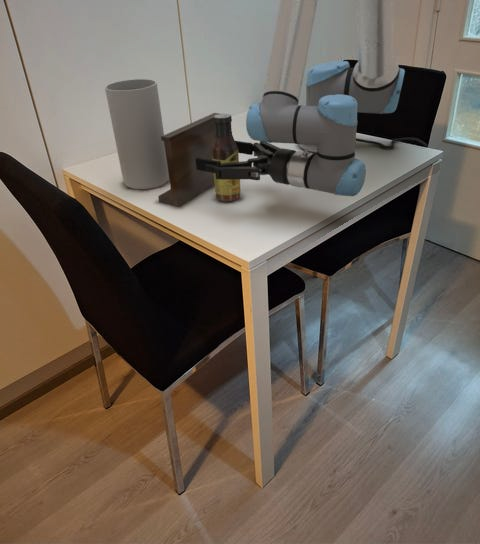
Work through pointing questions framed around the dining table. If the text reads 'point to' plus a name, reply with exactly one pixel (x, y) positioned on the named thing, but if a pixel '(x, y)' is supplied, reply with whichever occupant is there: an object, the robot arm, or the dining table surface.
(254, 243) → the dining table surface
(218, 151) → the sauce bottle
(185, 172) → the wooden shelf
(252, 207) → the dining table surface
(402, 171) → the dining table surface
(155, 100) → the cylinder vase
